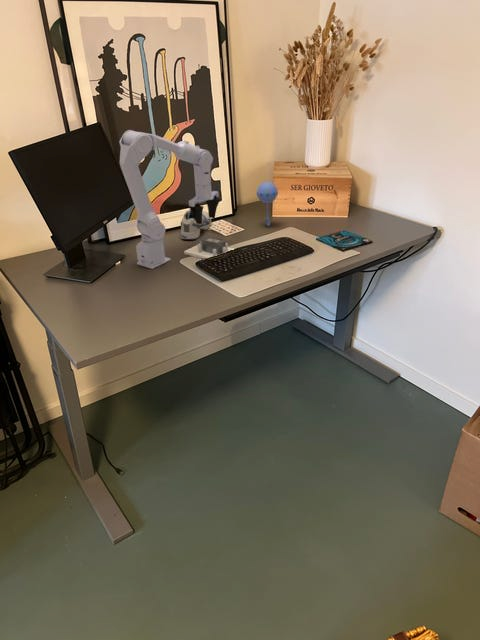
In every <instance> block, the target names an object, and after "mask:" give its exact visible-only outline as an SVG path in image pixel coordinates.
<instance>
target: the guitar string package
mask: <svg viewBox="0 0 480 640" xmlns="http://www.w3.org/2000/svg"><path fill="white" fill-rule="evenodd" d="M315 240H316V241H317V242H320V243H322V244H324V245H326V246H328V247H331V248H333V249H336V250H338V251H340V252H341V253H344V252H348V251H349V250H350V251H351V250H354V249H356V248H360V247H364V246H366V245H369V244H372V243H373V242H374V240H371V239H369V238H366V237H364V236H361V235H359V234H356V233H354V232H351V231H349V230H347V229H344V230H341V231H336V232H333V233H330V234H326V235H322V236H319V237H316V238H315ZM373 244H374V243H373Z"/></svg>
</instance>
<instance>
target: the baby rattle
mask: <svg viewBox="0 0 480 640" xmlns="http://www.w3.org/2000/svg"><path fill="white" fill-rule="evenodd" d="M278 194H279V190H278V188H277V186H276V185H275V184H274V183H273V182H270V181H264V182H262V183H260V184H259V186H258V187H257V189H256V197H257V198H258V200H259V201H260V202H262V203H264V204H266V218H265V225H266V226H267V227H270V226H271V221H270V217H269V204H271V203H273V202H274V201H275V200H276V198H278Z"/></svg>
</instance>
